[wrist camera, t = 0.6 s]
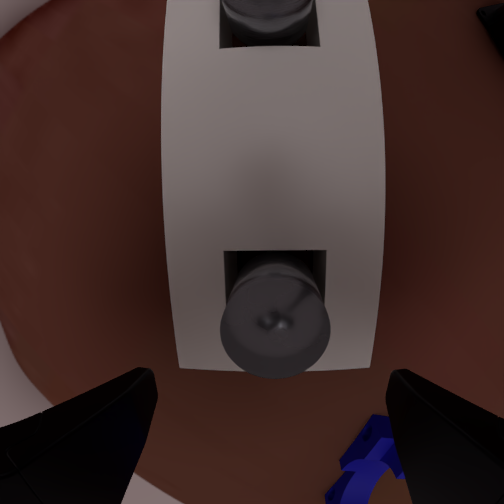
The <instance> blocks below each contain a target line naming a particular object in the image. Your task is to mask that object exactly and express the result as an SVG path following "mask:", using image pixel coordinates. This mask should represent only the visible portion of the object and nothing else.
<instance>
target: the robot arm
mask: <svg viewBox="0 0 504 504" xmlns="http://www.w3.org/2000/svg"><path fill="white" fill-rule="evenodd" d="M477 15H478V16H479V18H480V19H481V21H482V22H483V24H484V25H485V26H486V28H487V29H488V31H489V33H490V34H491V36H492V37H493V39H494V40H495V42H496V44H497V45H498V47H499V49H500V50H501V52H502V54H503V55H504V3H501V4H496V5H491V6H487V7H482V8H479V9H478V10H477ZM157 399H158V392H157V387H156V382H155V377H154V373H153V371H152V370H151V369H150V368H142V367H137V368H135V369H133V370H131V371H129V372H127V373H125V374H123V375H121V376H119V377H117V378H115V379H112V380H110V381H108V382H106V383H104V384H102V385H100V386H98V387H96V388H93V389H91V390H89V391H87V392H85V393H83V394H80V395H78V396H76V397H74V398H72V399H70V400H67V401H65V402H63V403H61V404H58V405H56V406H54V407H52V408H49V409H47V410H45V411H43V412H42V413H38V414H35V415H33V416H31V417H28V418H26V419H24V420H21V421H18V422H16V423H13V424H10V425H7V426H4V427H1V428H0V504H121V502H122V500H123V497H124V495H125V492H126V489H127V487H128V485H129V482H130V479H131V477H132V475H133V472H134V470H135V467H136V465H137V463H138V460H139V458H140V455H141V453H142V450H143V448H144V445H145V443H146V439H147V436H148V432H149V429H150V425H151V421H152V418H153V414H154V410H155V407H156V403H157ZM386 405H387V410H388V415H389V419H390V424H391V429H392V434H393V439H394V444H395V447H396V451H397V454H398V457H399V460H400V463H401V467H402V470H403V473H404V476H405V479H406V483H407V486H408V489H409V493H410V496H411V500H412V503H413V504H504V419H503V418H501V417H498V416H497V415H495V414H493V413H491V412H489V411H487V410H485V409H483V408H481V407H479V406H477V405H475V404H473V403H471V402H469V401H467V400H465V399H463V398H461V397H459V396H457V395H455V394H453V393H452V392H450V391H448V390H446V389H444V388H442V387H440V386H438V385H436V384H434V383H432V382H430V381H429V380H427V379H425V378H423V377H421V376H419V375H417V374H415V373H413V372H412V371H410V370H408V369H398V370H393V371H392V373H391V375H390V379H389V383H388V387H387V391H386Z"/></svg>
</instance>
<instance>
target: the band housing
mask: <svg viewBox="0 0 504 504" xmlns="http://www.w3.org/2000/svg"><path fill="white" fill-rule="evenodd" d="M306 40H307V46H255V47H236V48H232V31H231V28H230V25H229V22H228V19H227V16H226V13H225V9H224V6H223V3H222V0H167V8H166V20H165V33H164V48H163V68H162V99H161V158H162V191H163V212H164V229H165V243H166V256H167V268H168V279H169V289H170V298H171V307H172V316H173V324H174V332H175V339H176V347H177V354H178V361H179V367H180V368H189V369H204V370H224V371H244V370H243V369H241V368H240V367H238V366H237V365H236V364H235V363H234V362H233V361H232V360H231V359H230V358H229V356H228V355H227V353H226V352H225V349H224V347H223V345H222V341H221V337H220V323H221V319H222V315H223V313H224V310H225V307H226V305H227V302H228V299H229V297H230V294H231V292H232V289H233V286H234V284H235V281H236V279H237V276H238V271H237V251H252V250H313V277H314V280H315V282H316V285H317V287H318V290H319V292H320V295H321V297H322V300H323V302H324V305H325V308H326V310H327V313H328V316H329V319H330V326H331V333H330V339H329V342H328V345H327V348H326V350H325V352H324V353H323V355H322V356H321V357H320V359H319V360H318V361H317V362H316V363H315V364H314V365H313V366H311V367H310V368H309V369H307V370H305V371H322V370H341V369H356V368H369V367H370V362H371V356H372V350H373V343H374V337H375V329H376V322H377V314H378V305H379V296H380V286H381V275H382V263H383V248H384V227H385V142H384V123H383V108H382V96H381V86H380V76H379V67H378V60H377V52H376V45H375V38H374V32H373V26H372V20H371V15H370V10H369V5H368V0H313V2H312V7H311V12H310V17H309V21H308V26H307V29H306Z"/></svg>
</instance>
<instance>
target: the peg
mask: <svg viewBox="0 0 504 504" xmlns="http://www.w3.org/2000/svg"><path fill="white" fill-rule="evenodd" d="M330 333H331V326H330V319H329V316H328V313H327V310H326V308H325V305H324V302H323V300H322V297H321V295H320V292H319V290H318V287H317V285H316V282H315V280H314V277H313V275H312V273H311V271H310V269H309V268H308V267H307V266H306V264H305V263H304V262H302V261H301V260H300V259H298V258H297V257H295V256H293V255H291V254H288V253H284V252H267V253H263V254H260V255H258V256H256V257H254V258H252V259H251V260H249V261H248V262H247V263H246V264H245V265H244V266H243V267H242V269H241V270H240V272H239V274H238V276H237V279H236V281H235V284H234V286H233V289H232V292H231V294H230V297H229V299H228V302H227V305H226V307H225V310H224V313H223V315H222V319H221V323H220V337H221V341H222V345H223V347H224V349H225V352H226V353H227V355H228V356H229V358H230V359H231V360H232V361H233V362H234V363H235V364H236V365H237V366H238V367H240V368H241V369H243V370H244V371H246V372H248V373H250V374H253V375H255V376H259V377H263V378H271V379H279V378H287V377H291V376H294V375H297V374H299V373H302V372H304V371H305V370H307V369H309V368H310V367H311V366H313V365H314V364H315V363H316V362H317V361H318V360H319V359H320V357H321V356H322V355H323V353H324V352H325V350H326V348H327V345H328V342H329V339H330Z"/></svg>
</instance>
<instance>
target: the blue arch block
mask: <svg viewBox="0 0 504 504" xmlns="http://www.w3.org/2000/svg"><path fill="white" fill-rule="evenodd" d="M340 465H341V470H343V471H346V472H345V473H344V474H343V475H342V476H341V477H340V478H339V480H338V481H337V482H336V483H335V484H334V485H333V486H332V487H331V488H330V490H329V491H328V492H327V493H326V494H325V501H326V504H368V500H369V497H370V494H371V492H372V490H373V488H374V486H375V484H376V482H377V481H378V479H379V478H380V477H381V475H382V474H383V473H384V472H385V471H386V470H387V469H389V468H391V469H392V471H393V472H394V474H395V477H396V479H405V476H404V473H403V470H402V467H401V463H400V460H399V457H398V454H397V451H396V447H395V444H394V439H393V434H392V429H391V424H390V419H389V417H387V416H381V415H374V414H373V415H372V416H371V418H370V419H369V421H368V422H367V424H366V425H365V427H364V428H363V429H362V431H361V432H360V434H359V435H358V436H357V438H356V439H355V440H354V442H353V443H352V444H351V446H350V447H349V448H348V450H347V451H346V452H345V454H344V455H343V456H342V458H341V459H340Z"/></svg>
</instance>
